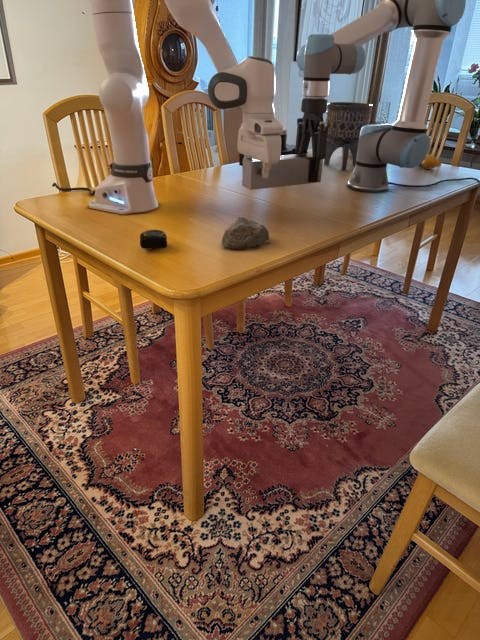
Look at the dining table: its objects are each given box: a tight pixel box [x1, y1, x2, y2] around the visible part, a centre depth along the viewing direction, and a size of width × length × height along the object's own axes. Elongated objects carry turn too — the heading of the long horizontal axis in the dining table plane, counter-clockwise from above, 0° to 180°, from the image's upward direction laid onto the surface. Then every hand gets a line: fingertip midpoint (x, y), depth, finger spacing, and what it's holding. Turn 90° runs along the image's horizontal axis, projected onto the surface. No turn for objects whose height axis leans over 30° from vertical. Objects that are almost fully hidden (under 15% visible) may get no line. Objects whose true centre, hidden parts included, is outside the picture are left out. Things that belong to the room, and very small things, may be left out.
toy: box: [417, 154, 442, 170], centre depth 212 cm, size 11×6×15 cm
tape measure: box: [139, 229, 168, 250], centre depth 117 cm, size 7×7×4 cm
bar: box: [241, 152, 324, 191], centre depth 137 cm, size 24×6×8 cm, turn 116°
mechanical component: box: [238, 127, 310, 167], centre depth 191 cm, size 22×21×30 cm
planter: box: [323, 101, 374, 172], centre depth 204 cm, size 20×20×26 cm
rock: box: [221, 216, 270, 250], centre depth 119 cm, size 13×9×6 cm, turn 131°
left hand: (256, 174), depth 133 cm, fingers open, 8 cm apart
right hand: (307, 179), depth 142 cm, fingers closed on bar, 6 cm apart
